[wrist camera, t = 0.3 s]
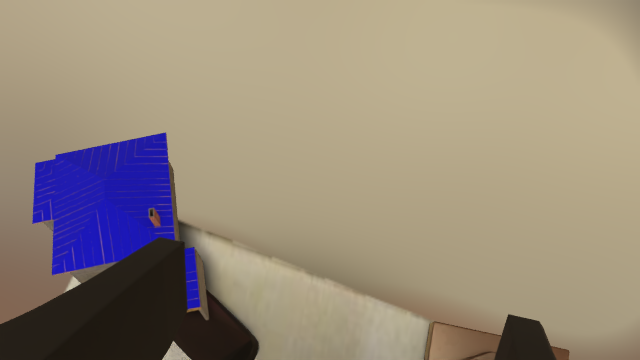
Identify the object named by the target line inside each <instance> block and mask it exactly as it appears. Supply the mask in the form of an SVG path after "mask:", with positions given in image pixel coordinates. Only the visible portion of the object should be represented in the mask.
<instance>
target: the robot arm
mask: <svg viewBox="0 0 640 360" xmlns="http://www.w3.org/2000/svg"><path fill="white" fill-rule="evenodd" d="M187 310H188V304H187V285H186V265H185V246H184V242H181V241H176V240H172V239H167V238H163V237H159V238H157V239H155V240H153V241H152V242H150V243H148V244H147V245H145V246H143V247H142V248H140V249H138V250H137V251H135V252H133V253H132V254H130V255H129V256H127V257H125V258H124V259H122V260H120V261H119V262H117V263H116V264H114V265H112V266H111V267H109V268H107V269H106V270H104V271H102V272H101V273H99V274H97V275H95V276H94V277H92V278H90V279H89V280H87V281H85V282H84V283H82V284H80V285H78V286H76V287H75V288H73V289H71V290H69V291H67V292H65V293H63V294H62V295H60V296H58V297H56V298H54V299H52V300H50V301H49V302H47V303H45V304H43V305H41V306H39V307H37V308H35V309H33V310H31V311H29V312H27V313H25V314H23V315H21V316H18V317H16V318H14V319H11V320H10V321H7V322H5V323H2V324H0V360H162V359H163V357H164V356H165V354H166V353H167V351H168V349H169V348H170V346H171V344H172V342H173V340H174V338H175V336H176V334H177V332H178V330H179V328H180V325H181V323H182V321H183V319H184V317H185V315H186V313H187ZM494 360H557V359H556V357H555V355H554V353H553V350H552V348H551V346H550V343H549V341H548V339H547V336H546V334H545V331H544V329H543V327H542V325H541V324H540V322H539V321H536V320H532V319H527V318H522V317H518V316H514V315H508V317H507V320H506V323H505V327H504V330H503V333H502V336H501V339H500V342H499V346H498V349H497V352H496V355H495V358H494Z"/></svg>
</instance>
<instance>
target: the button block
mask: <svg viewBox="0 0 640 360" xmlns="http://www.w3.org/2000/svg"><path fill="white" fill-rule="evenodd" d="M500 339H501V335H495V334H491V333H486V332H481V331H476V330H472V329H468V328H463V327H458V326H454V325H449V324H444V323H440V322H432V323H430V327H429V333H428V339H427V345H426V352H425V358H424V360H494V358H495V355H496V352H497V349H498V346H499V342H500ZM551 348H552V350H553V353H554V355H555V357H556V359H557V360H569V350H566V349H561V348H557V347H552V346H551Z"/></svg>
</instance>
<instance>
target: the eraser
mask: <svg viewBox="0 0 640 360" xmlns="http://www.w3.org/2000/svg"><path fill="white" fill-rule="evenodd" d="M206 296H207V305H208V314H209V320H205V318H204V317H203V315H202V314H201V313H200V311H199V310H195V311H191V312H187V313H186V315H185V317H184V319H183V321H182V323H181V325H180V328H179V330H178V332H177V334H176V336H175V338H174V340H173V341H174V342H175V343H176V344H177V345H178V346H179V347H180V348H181V349H182V351H183V352H184V353H185V354H186V355H187V356H188V357H189V358H190V359H192V360H254V358H255V356H256V354H257V350H258V342H257V340H256V338H255V337H254V336H253V335H252V334H251V332H250V331H249V330H248V329H247V328H246V327H245V326H244V325H243V324H242V323H241V322H240V321H238V320H237V319H236V318H235V317H234V316H233V315H232V314H231V313H230V312H229V311H228V310H227V309H226V308H225V307H224V306H223V305H222V304H221V303H220V302H219V301H218V300H217V299H216V298H215V297H214V296H213V295H212V294H211V293H210V292H209V291H208V290H206ZM192 310H193V309H192ZM188 311H189V310H188Z"/></svg>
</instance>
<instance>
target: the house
mask: <svg viewBox="0 0 640 360" xmlns="http://www.w3.org/2000/svg"><path fill="white" fill-rule="evenodd" d="M167 150H168V148H167V137H166V133H161V134H157V135H151V136H146V137H142V138H137V139H132V140H127V141H122V142H117V143H112V144H107V145H102V146H97V147H92V148H88V149H83V150H78V151H73V152H68V153H63V154H58V155H56V159H54V160H48V161H44V162H39V163H36V164H35V184H34V205H33V223H32V224H38V223H43V222H44V223H45V224H46V225H47V226H48V227H49V228H50V229H51V230H52V231H53V261H52V275H53V276H55V275H59V274H64V273H69V272H70V273H71V274H72V275H73V276H74V277H75V278H76V279H77V280H78V281H79V282H80V283H84V282H85V281H87V280H89V279H90V278H92V277H94V276H95V275H97V274H99V273H101V272H102V271H104V270H106V269H107V268H109V267H111V266H112V265H114V264H116V263H117V262H119V261H120V260H122V259H124V258H125V257H127V256H129V255H130V254H132V253H133V252H135V251H137V250H138V249H140V248H142V247H143V246H145V245H147V244H148V243H150V242H152V241H153V240H155V239H157V238H159V237H163V238H167V239H172V240H176V241H180V240H179V229H178V218H177V207H176V196H175V184H174V173H173V168H172V166H171V165H170V163H169V161H168V152H167ZM185 265H186V285H187V304H188V310H189V311H188V310H187V312H191V311H195V310H199V311H200V313H201V314H202V315H203V317H204V318H205V320H209V314H208V305H207V296H206V287H205V278H204V269H203V261H202V260H201V258H200V256H199V254H198V253H197V251H196V250H195V248H194V247H193V248H187V249H185ZM192 309H193V310H192Z"/></svg>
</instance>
